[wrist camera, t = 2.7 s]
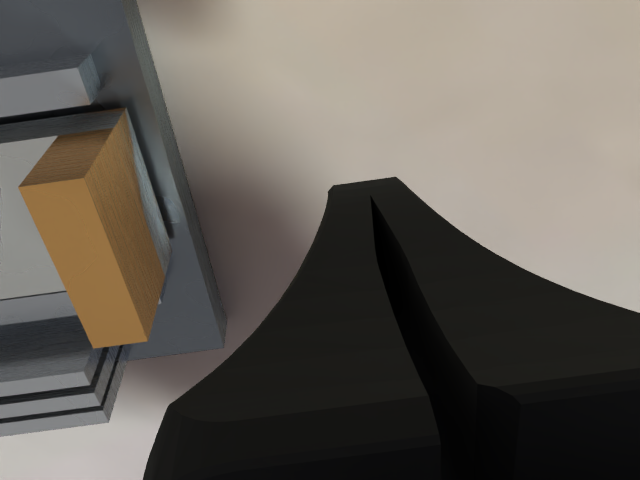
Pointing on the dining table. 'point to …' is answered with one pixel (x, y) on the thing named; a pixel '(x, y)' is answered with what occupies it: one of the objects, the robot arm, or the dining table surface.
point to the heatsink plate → (169, 188)
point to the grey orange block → (83, 222)
